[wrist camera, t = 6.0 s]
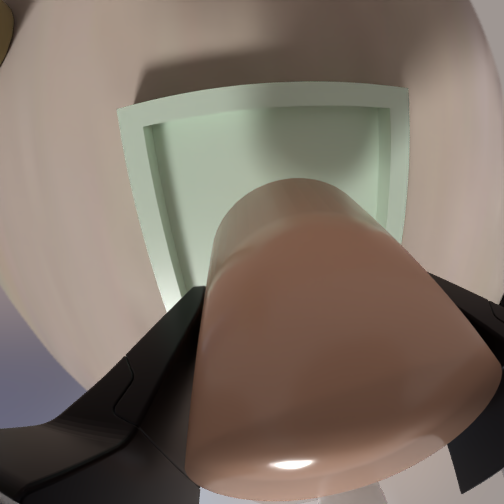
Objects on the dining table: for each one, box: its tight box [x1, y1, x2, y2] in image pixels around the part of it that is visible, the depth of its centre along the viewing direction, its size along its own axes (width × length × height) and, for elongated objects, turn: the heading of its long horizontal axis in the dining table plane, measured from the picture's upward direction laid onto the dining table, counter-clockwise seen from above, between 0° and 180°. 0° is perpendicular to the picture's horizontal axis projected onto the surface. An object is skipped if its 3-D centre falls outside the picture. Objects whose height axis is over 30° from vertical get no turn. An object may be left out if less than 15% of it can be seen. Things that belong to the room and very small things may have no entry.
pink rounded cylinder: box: [185, 178, 502, 501], centre depth 7 cm, size 6×6×7 cm
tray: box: [117, 81, 410, 312], centre depth 13 cm, size 12×12×2 cm
